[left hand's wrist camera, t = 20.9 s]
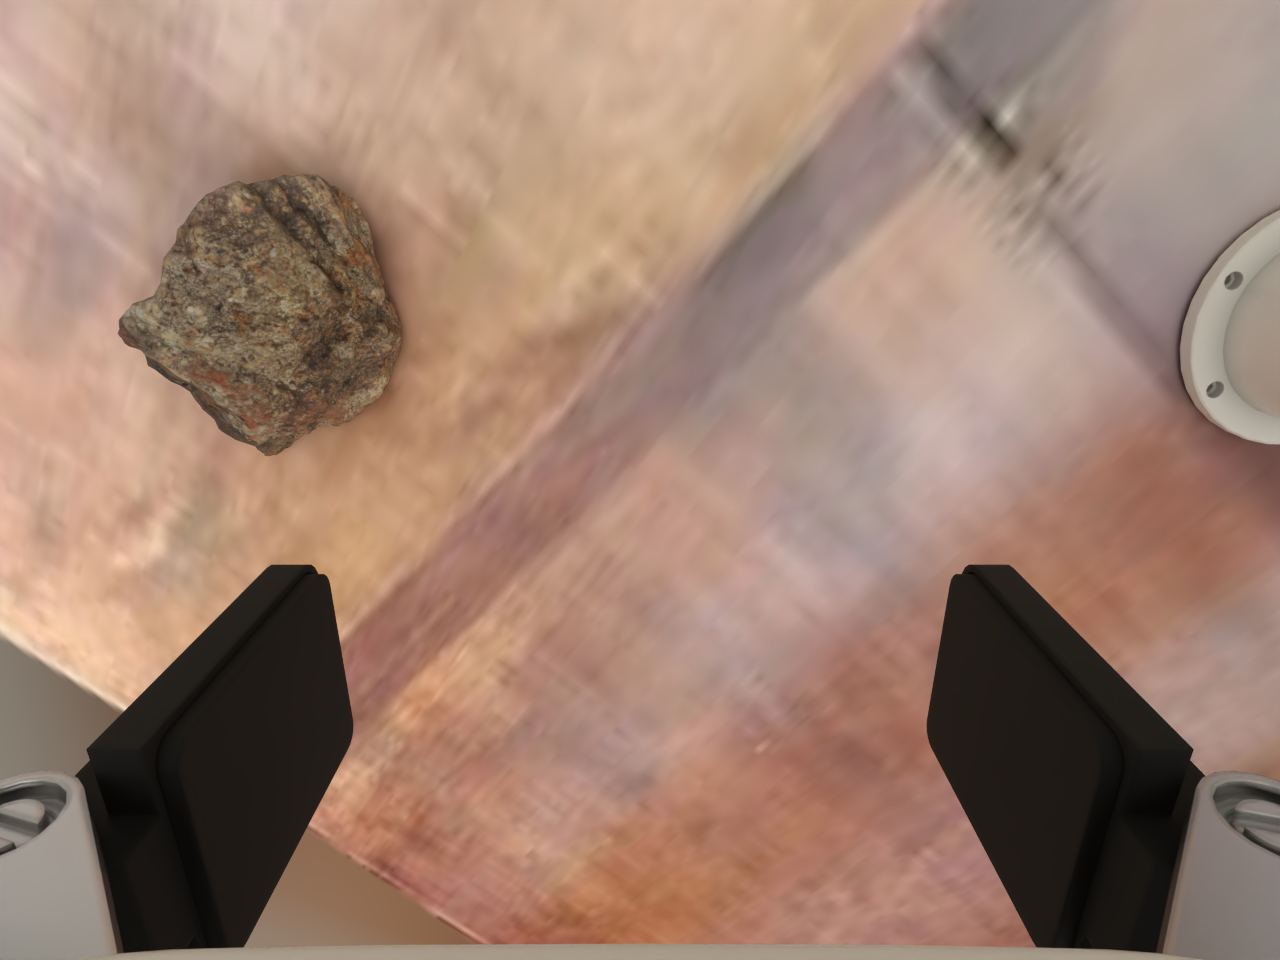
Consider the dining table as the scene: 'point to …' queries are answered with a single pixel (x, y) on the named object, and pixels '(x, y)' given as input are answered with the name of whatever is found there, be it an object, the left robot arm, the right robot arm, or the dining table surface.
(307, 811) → the left robot arm
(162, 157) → the dining table surface
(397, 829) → the dining table surface
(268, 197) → the rock
